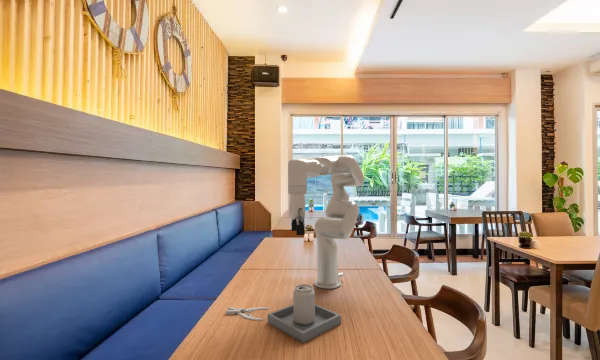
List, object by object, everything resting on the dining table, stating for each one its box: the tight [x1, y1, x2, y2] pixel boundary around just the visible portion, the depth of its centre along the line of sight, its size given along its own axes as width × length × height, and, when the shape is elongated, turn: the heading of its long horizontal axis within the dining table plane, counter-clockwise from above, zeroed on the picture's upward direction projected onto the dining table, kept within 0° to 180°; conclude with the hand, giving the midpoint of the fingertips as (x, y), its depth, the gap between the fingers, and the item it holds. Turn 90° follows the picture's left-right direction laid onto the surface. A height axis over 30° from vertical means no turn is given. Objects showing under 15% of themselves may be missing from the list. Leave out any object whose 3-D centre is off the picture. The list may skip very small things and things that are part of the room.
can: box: [292, 283, 316, 325], centre depth 106 cm, size 8×8×12 cm
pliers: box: [225, 306, 270, 321], centre depth 114 cm, size 10×2×15 cm
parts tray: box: [267, 303, 342, 344], centre depth 106 cm, size 18×18×3 cm
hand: (297, 232), depth 123 cm, fingers open, 9 cm apart
